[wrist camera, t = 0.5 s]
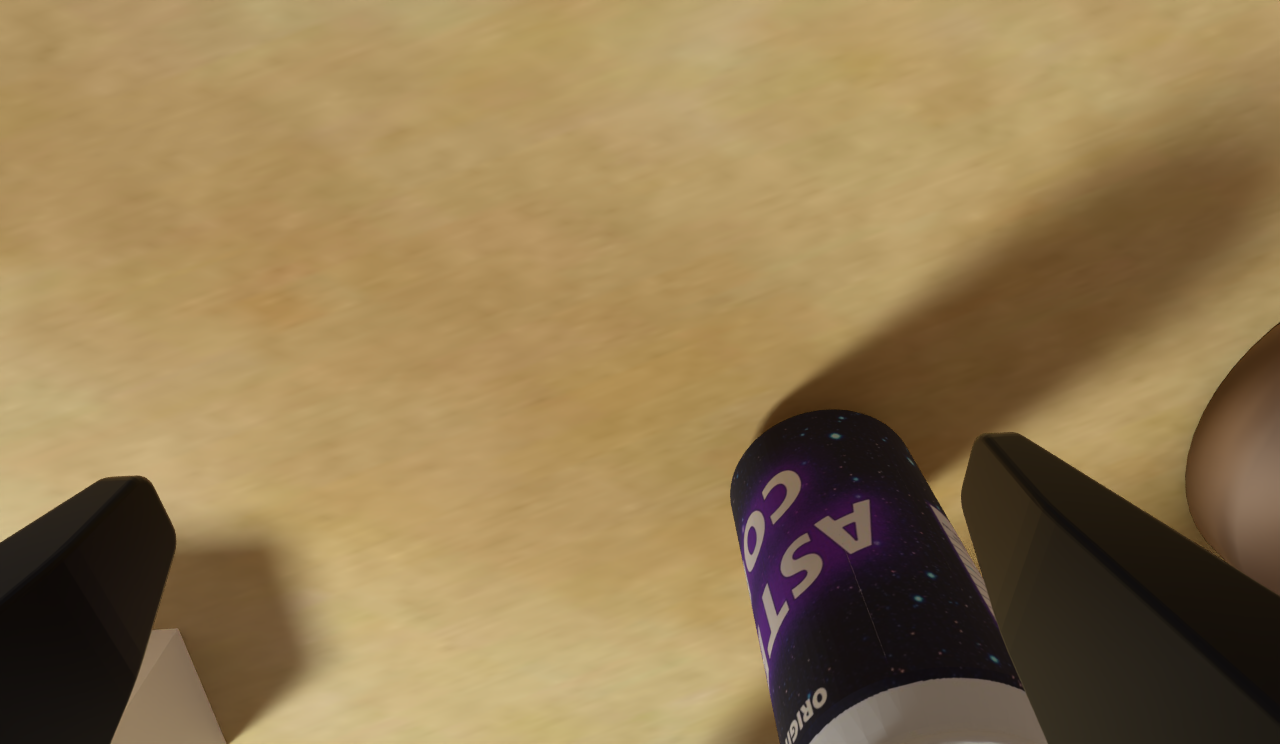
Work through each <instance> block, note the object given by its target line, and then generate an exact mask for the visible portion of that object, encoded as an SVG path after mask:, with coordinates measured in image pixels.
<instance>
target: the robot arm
mask: <svg viewBox="0 0 1280 744" xmlns="http://www.w3.org/2000/svg"><path fill="white" fill-rule="evenodd" d="M961 503H962V509H963V513H964V516H965V520H966V523H967V526H968V529H969V533H970V536H971V539H972V543H973V546H974V549H975V553H976V556H977V559H978V563H979V566H980V569H981V572H982V576H983V579H984V582H985V586H986V589H987V592H988V596H989V599H990V602H991V606H992V609H993V612H994V615H995V618H996V621H997V624H998V627H999V630H1000V633H1001V636H1002V638H1003V641H1004V643H1005V646H1006V648H1007V651H1008V653H1009V655H1010V658H1011V660H1012V662H1013V665H1014V667H1015V669H1016V672H1017V674H1018V676H1019V679H1020V681H1021V683H1022V686H1023V688H1024V690H1025V692H1026V695H1027V697H1028V699H1029V702H1030V704H1031V706H1032V709H1033V711H1034V713H1035V716H1036V718H1037V720H1038V723H1039V725H1040V727H1041V729H1042V732H1043V734H1044V736H1045V739H1046V741H1047V743H1048V744H1280V595H1278V594H1276V593H1275V592H1273V591H1272V590H1270V589H1268V588H1267V587H1265V586H1263V585H1262V584H1260V583H1259V582H1257V581H1255V580H1254V579H1252V578H1251V577H1249V576H1247V575H1246V574H1244V573H1243V572H1241V571H1239V570H1238V569H1236V568H1235V567H1233V566H1231V565H1230V564H1228V563H1227V562H1225V561H1223V560H1222V559H1220V558H1219V557H1217V556H1215V555H1214V554H1212V553H1210V552H1209V551H1207V550H1206V549H1204V548H1202V547H1201V546H1199V545H1198V544H1196V543H1194V542H1193V541H1191V540H1190V539H1188V538H1186V537H1185V536H1183V535H1182V534H1180V533H1178V532H1177V531H1175V530H1174V529H1172V528H1170V527H1169V526H1167V525H1166V524H1164V523H1162V522H1161V521H1159V520H1157V519H1156V518H1154V517H1153V516H1151V515H1149V514H1148V513H1146V512H1145V511H1143V510H1141V509H1140V508H1138V507H1137V506H1135V505H1133V504H1132V503H1130V502H1129V501H1127V500H1125V499H1124V498H1122V497H1121V496H1119V495H1117V494H1116V493H1114V492H1113V491H1111V490H1109V489H1108V488H1106V487H1105V486H1103V485H1101V484H1100V483H1098V482H1096V481H1095V480H1093V479H1092V478H1090V477H1088V476H1087V475H1085V474H1084V473H1082V472H1080V471H1079V470H1077V469H1076V468H1074V467H1072V466H1071V465H1069V464H1068V463H1066V462H1064V461H1063V460H1061V459H1060V458H1058V457H1056V456H1055V455H1053V454H1052V453H1050V452H1048V451H1047V450H1045V449H1043V448H1042V447H1040V446H1039V445H1037V444H1035V443H1034V442H1032V441H1031V440H1029V439H1027V438H1026V437H1024V436H1022V435H1020V434H1018V433H1014V432H1004V433H985V434H982V435H980V436H978V437H977V438H976V440H975V442H974V444H973V447H972V451H971V455H970V459H969V462H968V466H967V470H966V474H965V478H964V482H963V486H962V491H961ZM175 549H176V534H175V530H174V527H173V525H172V523H171V521H170V519H169V517H168V515H167V513H166V510H165V508H164V506H163V504H162V502H161V500H160V498H159V496H158V494H157V492H156V490H155V488H154V486H153V485H152V483H151V482H150V481H149V480H148V479H147V478H145V477H142V476H118V477H107V478H103V479H100V480H99V481H97V482H95V483H94V484H92V485H91V486H89V487H87V488H86V489H84V490H83V491H81V492H79V493H78V494H76V495H75V496H73V497H72V498H70V499H68V500H67V501H65V502H64V503H62V504H61V505H59V506H57V507H56V508H54V509H53V510H51V511H49V512H48V513H46V514H45V515H43V516H42V517H40V518H38V519H37V520H35V521H34V522H32V523H31V524H29V525H27V526H26V527H24V528H23V529H21V530H19V531H18V532H16V533H15V534H13V535H12V536H10V537H8V538H7V539H5V540H4V541H2V542H1V543H0V744H111V741H112V739H113V737H114V734H115V732H116V729H117V727H118V725H119V722H120V720H121V717H122V715H123V713H124V710H125V708H126V705H127V703H128V701H129V698H130V695H131V693H132V690H133V688H134V685H135V682H136V680H137V677H138V674H139V671H140V668H141V665H142V662H143V659H144V656H145V652H146V649H147V646H148V642H149V639H150V635H151V632H152V629H153V625H154V622H155V618H156V615H157V612H158V608H159V605H160V601H161V598H162V595H163V591H164V588H165V584H166V581H167V578H168V574H169V571H170V568H171V564H172V561H173V557H174V554H175Z"/></svg>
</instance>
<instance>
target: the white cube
mask: <svg viewBox="0 0 1280 744" xmlns="http://www.w3.org/2000/svg"><path fill="white" fill-rule="evenodd" d="M111 744H226V741H225V739H224V736H223V734H222V732H221V729H220V727H219V724H218V722H217V720H216V717H215V715H214V713H213V710H212V708H211V705H210V703H209V701H208V698H207V696H206V693H205V691H204V689H203V686H202V684H201V681H200V679H199V677H198V674H197V672H196V670H195V667H194V665H193V662H192V660H191V658H190V655H189V653H188V650H187V648H186V646H185V643H184V641H183V639H182V636H181V634H180V631H179V629H178V628H174V629H158V630H152V632H151V635H150V639H149V642H148V646H147V649H146V652H145V656H144V659H143V662H142V665H141V668H140V671H139V674H138V677H137V680H136V682H135V685H134V688H133V690H132V693H131V695H130V698H129V701H128V703H127V705H126V708H125V710H124V713H123V715H122V717H121V720H120V722H119V725H118V727H117V729H116V732H115V734H114V737H113V739H112V741H111Z"/></svg>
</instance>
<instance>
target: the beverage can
mask: <svg viewBox="0 0 1280 744" xmlns="http://www.w3.org/2000/svg"><path fill="white" fill-rule="evenodd" d="M730 498H731V506H732V511H733V516H734V521H735V526H736V531H737V536H738V541H739V545H740V550H741V555H742V560H743V565H744V570H745V575H746V580H747V585H748V589H749V594H750V599H751V604H752V609H753V614H754V619H755V624H756V629H757V633H758V638H759V643H760V648H761V653H762V658H763V663H764V668H765V673H766V677H767V682H768V687H769V692H770V697H771V702H772V707H773V712H774V717H775V721H776V726H777V731H778V736H779V741H780V744H1048V743H1047V741H1046V739H1045V736H1044V734H1043V732H1042V729H1041V727H1040V725H1039V723H1038V720H1037V718H1036V716H1035V713H1034V711H1033V709H1032V706H1031V704H1030V702H1029V699H1028V697H1027V695H1026V692H1025V690H1024V688H1023V686H1022V683H1021V681H1020V679H1019V676H1018V674H1017V672H1016V669H1015V667H1014V665H1013V662H1012V660H1011V658H1010V655H1009V653H1008V651H1007V648H1006V646H1005V643H1004V641H1003V638H1002V636H1001V633H1000V630H999V627H998V624H997V621H996V618H995V615H994V612H993V609H992V606H991V602H990V599H989V596H988V592H987V589H986V586H985V582H984V580H983V578H982V576H981V575H980V573H979V571H978V569H977V568H976V566H975V564H974V563H973V561H972V559H971V557H970V556H969V554H968V552H967V551H966V549H965V547H964V545H963V544H962V542H961V540H960V538H959V537H958V535H957V533H956V532H955V530H954V528H953V526H952V525H951V523H950V521H949V519H948V518H947V516H946V514H945V513H944V511H943V509H942V507H941V506H940V504H939V502H938V501H937V499H936V497H935V495H934V494H933V492H932V490H931V488H930V487H929V485H928V483H927V482H926V480H925V478H924V476H923V475H922V473H921V471H920V470H919V468H918V466H917V464H916V463H915V461H914V459H913V457H912V456H911V454H910V452H909V451H908V449H907V447H906V445H905V444H904V442H903V441H902V440H901V438H900V437H899V436H898V435H897V434H896V433H895V432H894V431H893V430H892V429H891V428H889V427H888V426H887V425H885V424H884V423H882V422H880V421H879V420H877V419H875V418H872V417H870V416H867V415H864V414H861V413H857V412H853V411H847V410H820V411H813V412H808V413H804V414H800V415H797V416H794V417H792V418H789V419H787V420H785V421H782V422H780V423H779V424H777V425H775V426H773V427H772V428H770V429H769V430H767V431H766V432H765V433H763V434H762V435H761V436H760V437H759V438H757V439H756V440H755V441H754V442H753V443H752V444H751V445H750V447H749V448H748V449H747V450H746V452H745V453H744V454H743V456H742V458H741V459H740V461H739V463H738V465H737V467H736V469H735V472H734V475H733V478H732V483H731V490H730Z"/></svg>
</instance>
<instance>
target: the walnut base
mask: <svg viewBox="0 0 1280 744" xmlns="http://www.w3.org/2000/svg"><path fill="white" fill-rule="evenodd" d="M1185 481H1186V497H1187V501H1188V506H1189V510H1190V513H1191V516H1192V518H1193V520H1194V522H1195V525H1196V527H1197V529H1198V530H1199V531H1200V533H1201V534H1202V536H1203V537H1204V539H1205V540H1206V541H1207V542H1208V543H1209V544H1210V545H1211V546H1212V547H1213V548H1214V549H1215V550H1216V551H1217V552H1218V553H1219V554H1220V555H1221V556H1222V557H1223V558H1224V559H1225V560H1226V561H1227V562H1228V563H1229V564H1230V565H1231V566H1233V567H1235V568H1236V569H1238V570H1239V571H1241V572H1243V573H1244V574H1246V575H1247V576H1249V577H1251V578H1252V579H1254V580H1255V581H1257V582H1259V583H1260V584H1262V585H1263V586H1265V587H1267V588H1268V589H1270V590H1272V591H1273V592H1275V593H1276V594H1278V595H1280V324H1278V325H1277V326H1276V327H1274V328H1273V329H1272V330H1271V331H1270V332H1269V333H1268V334H1267V335H1265V336H1264V337H1263V338H1262V339H1261V340H1260V341H1259V342H1258V343H1257V344H1256V345H1254V346H1253V347H1252V348H1251V349H1250V350H1249V351H1248V353H1247V354H1246V355H1245V356H1244V357H1243V358H1242V359H1241V360H1240V361H1239V362H1238V364H1237V365H1236V366H1235V367H1234V368H1233V369H1232V370H1231V372H1230V373H1229V374H1228V376H1227V377H1226V378H1225V380H1224V381H1223V382H1222V384H1221V385H1220V387H1219V388H1218V389H1217V391H1216V392H1215V394H1214V396H1213V397H1212V399H1211V401H1210V402H1209V404H1208V406H1207V408H1206V409H1205V411H1204V413H1203V415H1202V417H1201V419H1200V422H1199V424H1198V426H1197V429H1196V431H1195V433H1194V436H1193V439H1192V443H1191V446H1190V450H1189V453H1188V459H1187V466H1186V474H1185Z"/></svg>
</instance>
